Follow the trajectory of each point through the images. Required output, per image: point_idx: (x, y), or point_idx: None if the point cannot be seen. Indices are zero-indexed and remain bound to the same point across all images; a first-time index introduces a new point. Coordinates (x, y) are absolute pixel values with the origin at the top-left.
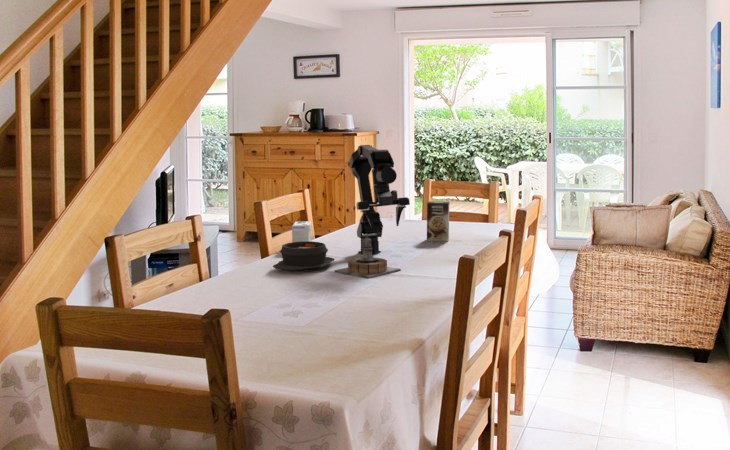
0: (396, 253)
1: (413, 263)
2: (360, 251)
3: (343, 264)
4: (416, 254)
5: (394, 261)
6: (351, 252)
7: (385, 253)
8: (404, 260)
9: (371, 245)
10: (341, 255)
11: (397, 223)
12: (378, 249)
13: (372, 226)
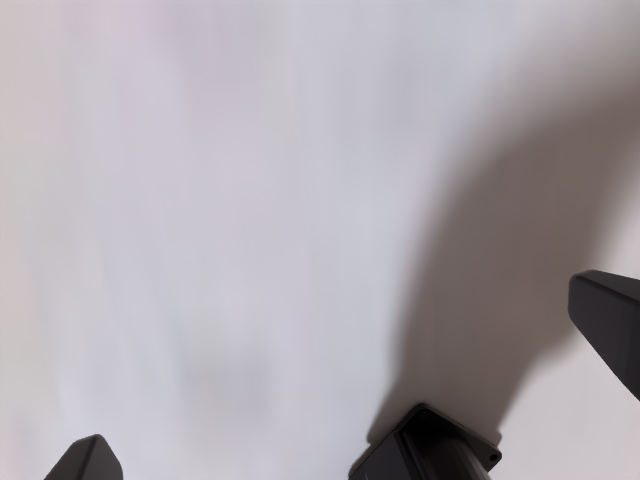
0: (232, 470)
1: (3, 81)
2: (486, 457)
3: (635, 19)
4: None
5: (208, 172)
6: (536, 459)
7: (312, 460)
8: (124, 221)
9: (431, 473)
10: None
11: (72, 474)
12: (368, 474)
13: (612, 283)
